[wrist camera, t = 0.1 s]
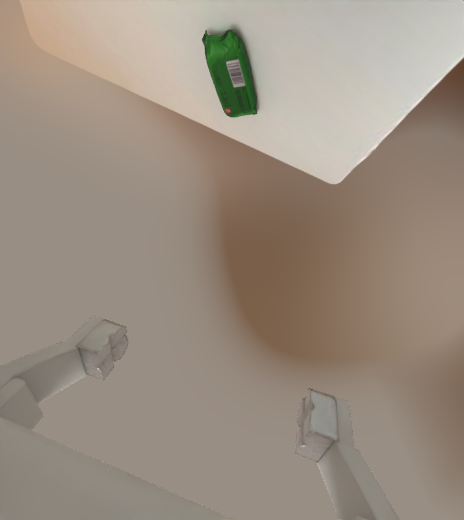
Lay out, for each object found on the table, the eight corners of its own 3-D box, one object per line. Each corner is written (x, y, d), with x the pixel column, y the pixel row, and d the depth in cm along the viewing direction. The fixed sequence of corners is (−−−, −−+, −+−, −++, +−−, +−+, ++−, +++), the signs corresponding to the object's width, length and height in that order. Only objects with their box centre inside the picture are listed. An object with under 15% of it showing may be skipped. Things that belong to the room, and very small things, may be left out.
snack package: (242, 16, 44) (232, 29, 42) (262, 108, 56) (255, 122, 54) (206, 28, 47) (195, 40, 45) (233, 113, 59) (225, 126, 57)
